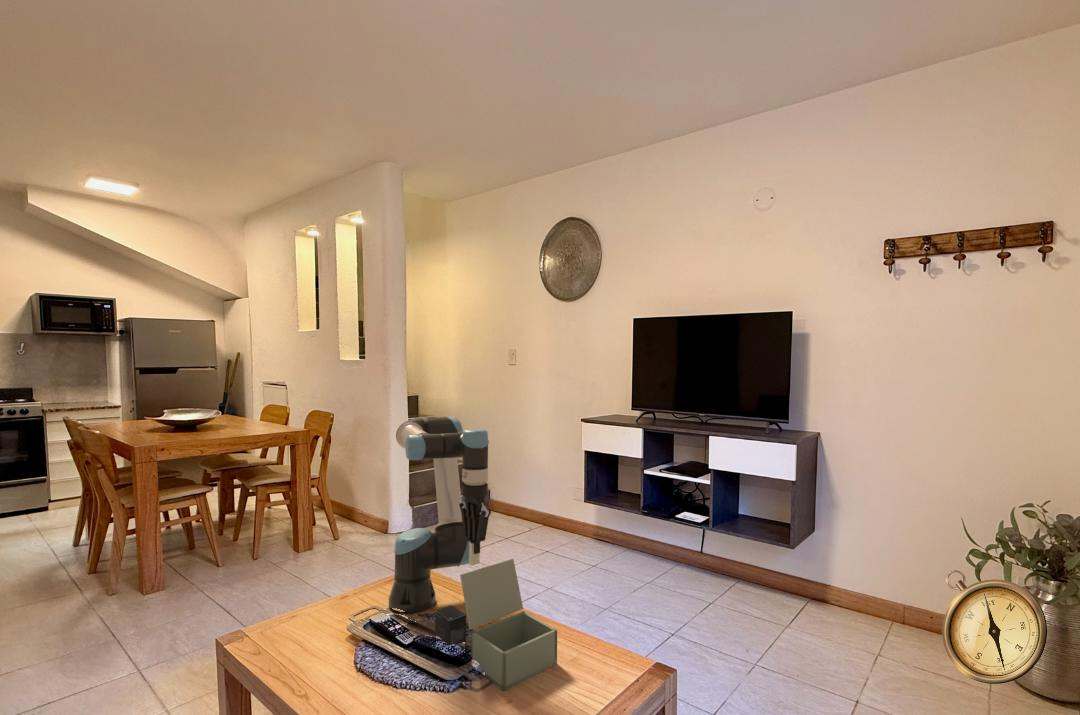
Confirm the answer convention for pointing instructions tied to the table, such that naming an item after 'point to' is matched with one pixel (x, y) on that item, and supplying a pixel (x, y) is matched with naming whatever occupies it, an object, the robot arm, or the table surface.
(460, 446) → the robot arm
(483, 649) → the carton
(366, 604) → the table surface
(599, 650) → the table surface
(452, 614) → the box
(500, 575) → the lid
